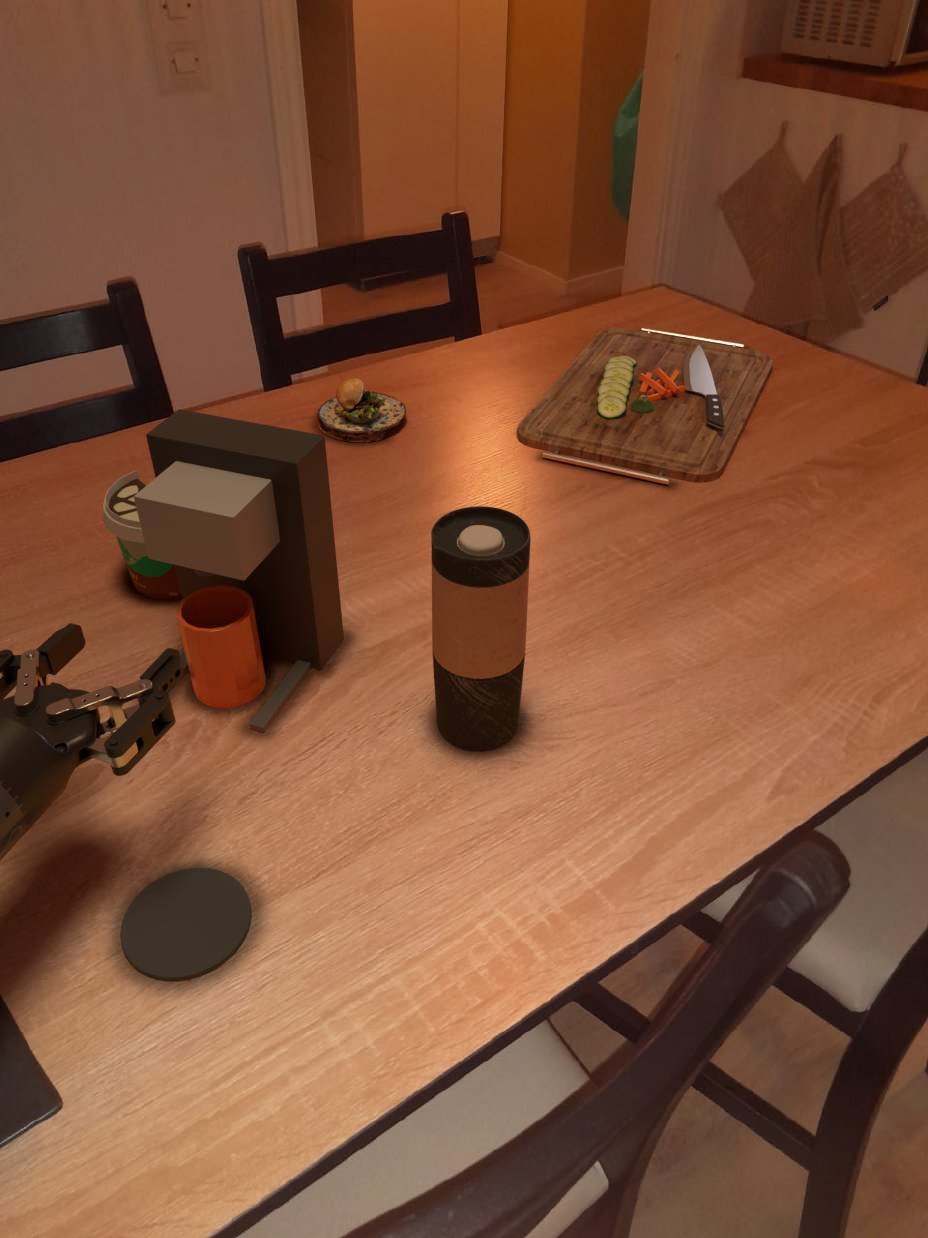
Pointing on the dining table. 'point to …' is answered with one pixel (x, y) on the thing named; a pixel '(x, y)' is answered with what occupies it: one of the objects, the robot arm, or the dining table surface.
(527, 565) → the travel mug
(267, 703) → the coffee maker
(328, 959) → the dining table surface
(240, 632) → the cup
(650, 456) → the chopping board
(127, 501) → the food container
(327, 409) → the plate of food
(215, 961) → the coaster
